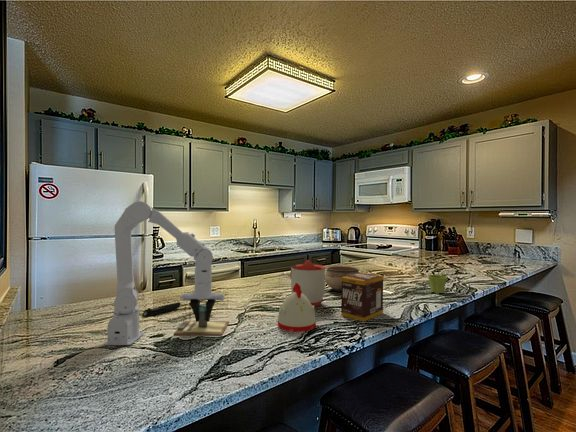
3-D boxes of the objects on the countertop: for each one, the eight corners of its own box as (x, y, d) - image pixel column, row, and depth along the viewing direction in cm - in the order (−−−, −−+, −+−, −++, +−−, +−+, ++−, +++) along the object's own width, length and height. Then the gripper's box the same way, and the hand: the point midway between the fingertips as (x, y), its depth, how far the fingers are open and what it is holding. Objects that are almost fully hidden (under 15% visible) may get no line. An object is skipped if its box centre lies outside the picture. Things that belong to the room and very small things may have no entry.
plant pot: (428, 294, 158) (428, 277, 158) (426, 290, 167) (426, 274, 167) (448, 295, 156) (449, 278, 156) (445, 291, 165) (445, 275, 165)
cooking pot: (372, 294, 158) (372, 270, 158) (343, 298, 149) (343, 273, 149) (341, 284, 180) (341, 263, 180) (314, 287, 171) (314, 265, 171)
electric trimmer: (182, 310, 131) (182, 302, 131) (146, 318, 119) (146, 310, 119) (177, 308, 133) (177, 301, 133) (141, 316, 122) (141, 308, 122)
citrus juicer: (293, 297, 150) (294, 256, 150) (329, 301, 143) (329, 258, 143) (281, 306, 135) (281, 260, 135) (319, 311, 129) (320, 263, 129)
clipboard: (222, 335, 102) (222, 331, 102) (173, 335, 102) (173, 330, 102) (228, 322, 114) (228, 319, 114) (185, 322, 114) (185, 318, 114)
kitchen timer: (283, 333, 105) (283, 289, 105) (274, 320, 118) (274, 280, 118) (321, 329, 108) (321, 286, 108) (308, 317, 122) (308, 279, 122)
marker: (206, 327, 107) (206, 307, 107) (197, 327, 107) (197, 307, 107) (208, 324, 110) (208, 304, 110) (199, 324, 110) (199, 304, 110)
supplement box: (340, 315, 124) (340, 276, 124) (361, 307, 134) (361, 271, 134) (363, 322, 116) (363, 280, 116) (383, 313, 127) (383, 275, 127)
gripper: (226, 279, 112) (225, 317, 112) (186, 279, 112) (185, 316, 112) (222, 284, 105) (221, 323, 105) (179, 283, 105) (179, 323, 105)
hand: (202, 320), depth 108 cm, fingers closed on marker, 3 cm apart
